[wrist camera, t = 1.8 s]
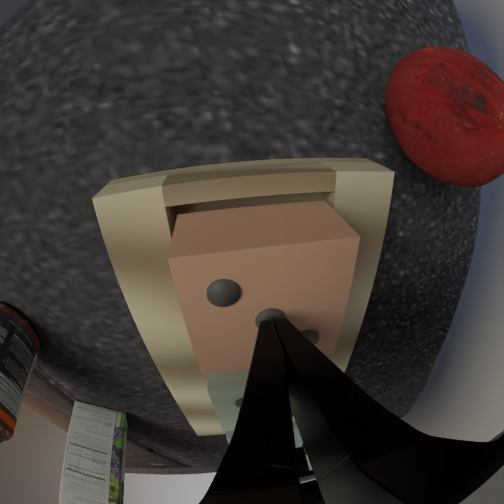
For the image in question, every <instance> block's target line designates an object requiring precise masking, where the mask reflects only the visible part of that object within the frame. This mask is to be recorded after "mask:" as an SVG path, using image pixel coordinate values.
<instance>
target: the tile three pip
mask: <svg viewBox="0 0 504 504" xmlns="http://www.w3.org/2000/svg"><path fill="white" fill-rule="evenodd" d="M359 241H360V236H359V235H358V234H357V233H356V232H355V231H354V230H353V228H352V227H351V226H350V225H349V224H348V223H347V222H346V221H345V220H344V219H343V218H342V217H341V216H340V215H339V214H338V213H337V212H336V211H335V210H334V209H333V208H332V207H331V206H329V205H328V204H327V203H326V202H325V201H309V202H295V203H283V204H271V205H260V206H249V207H239V208H229V209H220V210H211V211H202V212H194V213H186V214H178V215H177V219H176V223H175V227H174V231H173V236H172V240H171V244H170V249H169V253H168V258H167V259H168V263H169V267H170V271H171V275H172V279H173V283H174V286H175V290H176V294H177V298H178V301H179V305H180V308H181V312H182V315H183V318H184V322H185V325H186V328H187V332H188V335H189V338H190V341H191V344H192V348H193V351H194V354H195V357H196V360H197V363H198V366H199V368H200V371H201V374H208V373H219V372H228V371H237V370H245V369H250V364H251V360H252V356H253V351H254V347H255V342H256V338H257V333H258V329H259V324H260V321H262V320H269V319H272V320H274V319H276V318H282V317H285V318H287V319H288V320H289V321H290V322H291V323H292V324H293V325H294V326H295V327H296V328H297V329H298V330H300V331H301V332H302V333H303V334H304V335H305V336H306V337H307V338H308V339H309V340H310V341H311V342H312V343H313V344H314V345H315V346H316V347H317V348H318V349H319V350H320V351H322V352H323V353H324V354H325V355H329V354H333V353H334V352H335V349H336V345H337V342H338V338H339V334H340V330H341V327H342V323H343V319H344V315H345V311H346V306H347V302H348V298H349V293H350V289H351V284H352V279H353V274H354V269H355V264H356V258H357V253H358V247H359Z"/></svg>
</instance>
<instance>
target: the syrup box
mask: <svg viewBox="0 0 504 504" xmlns="http://www.w3.org/2000/svg"><path fill="white" fill-rule="evenodd" d="M126 442H127V418H126V414H125V413H124V412H120V411H116V410H111V409H107V408H103V407H99V406H95V405H91V404H87V403H83V402H80V401H75V404H74V408H73V412H72V417H71V421H70V426H69V430H68V435H67V441H66V447H65V454H64V460H63V468H62V475H61V484H60V497H59V504H123V494H124V474H125V457H126Z"/></svg>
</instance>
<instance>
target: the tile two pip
mask: <svg viewBox="0 0 504 504" xmlns="http://www.w3.org/2000/svg"><path fill="white" fill-rule="evenodd" d="M248 373H249V369H245V370H237V371H228V372H219V373H208V374H206V375H207V391H208V394H209V396H210V399H211V401H212V404H213V407H214V409H215V412H216V414H217V417H218V419H219V422H220V424H221V427H222V429H223V431H234V429H235V426H236V422H237V419H238V415H239V410H240V408H241V403H242V399H243V394H244V390H245V386H246V382H247V377H248ZM291 412H292V410H291ZM292 420H293V421H295V419H294V416H293V413H292Z"/></svg>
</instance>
